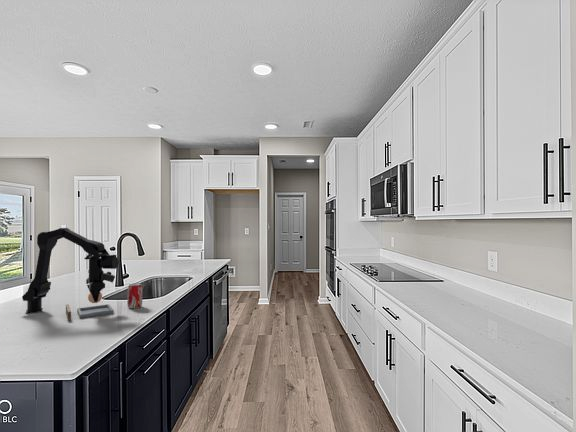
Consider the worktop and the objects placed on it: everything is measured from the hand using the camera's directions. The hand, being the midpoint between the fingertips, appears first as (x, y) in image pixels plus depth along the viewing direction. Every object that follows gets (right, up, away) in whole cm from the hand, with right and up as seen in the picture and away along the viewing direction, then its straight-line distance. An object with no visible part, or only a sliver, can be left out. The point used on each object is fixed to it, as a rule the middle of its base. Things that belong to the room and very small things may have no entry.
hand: (95, 300), depth 165 cm
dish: (0, -6, 0) cm, 6 cm away
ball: (0, +2, 0) cm, 2 cm away
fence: (-9, -6, -7) cm, 12 cm away
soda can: (+15, -6, +11) cm, 19 cm away
